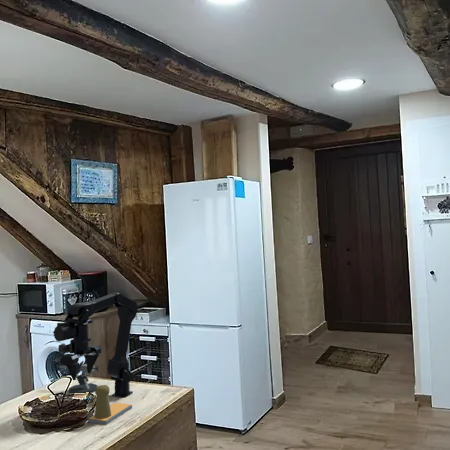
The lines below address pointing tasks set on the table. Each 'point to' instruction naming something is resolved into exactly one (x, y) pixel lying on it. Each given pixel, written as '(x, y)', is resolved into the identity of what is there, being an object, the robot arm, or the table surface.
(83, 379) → the gun turret
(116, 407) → the floor panel
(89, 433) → the table surface
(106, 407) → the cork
